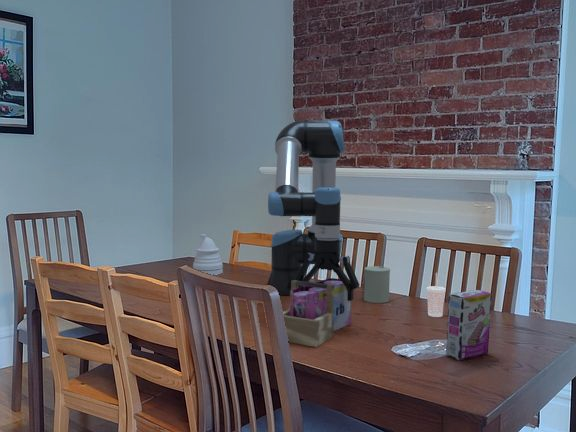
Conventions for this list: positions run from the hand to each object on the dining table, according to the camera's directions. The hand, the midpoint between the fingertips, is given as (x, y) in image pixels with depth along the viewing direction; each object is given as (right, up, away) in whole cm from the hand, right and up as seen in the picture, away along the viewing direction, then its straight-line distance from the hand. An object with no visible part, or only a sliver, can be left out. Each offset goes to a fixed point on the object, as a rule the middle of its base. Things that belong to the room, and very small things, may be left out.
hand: (326, 308), depth 179 cm
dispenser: (-7, -6, -11) cm, 14 cm away
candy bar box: (+35, -8, -25) cm, 44 cm away
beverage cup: (+36, -5, +14) cm, 39 cm away
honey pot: (-46, +2, +77) cm, 90 cm away
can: (+20, -3, +34) cm, 40 cm away
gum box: (-2, -6, -3) cm, 7 cm away
